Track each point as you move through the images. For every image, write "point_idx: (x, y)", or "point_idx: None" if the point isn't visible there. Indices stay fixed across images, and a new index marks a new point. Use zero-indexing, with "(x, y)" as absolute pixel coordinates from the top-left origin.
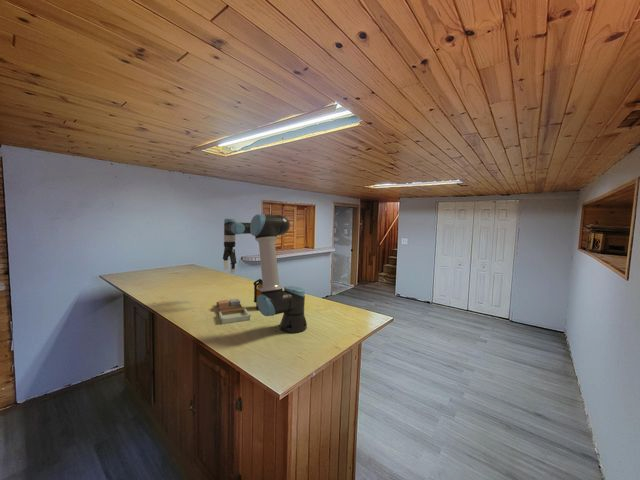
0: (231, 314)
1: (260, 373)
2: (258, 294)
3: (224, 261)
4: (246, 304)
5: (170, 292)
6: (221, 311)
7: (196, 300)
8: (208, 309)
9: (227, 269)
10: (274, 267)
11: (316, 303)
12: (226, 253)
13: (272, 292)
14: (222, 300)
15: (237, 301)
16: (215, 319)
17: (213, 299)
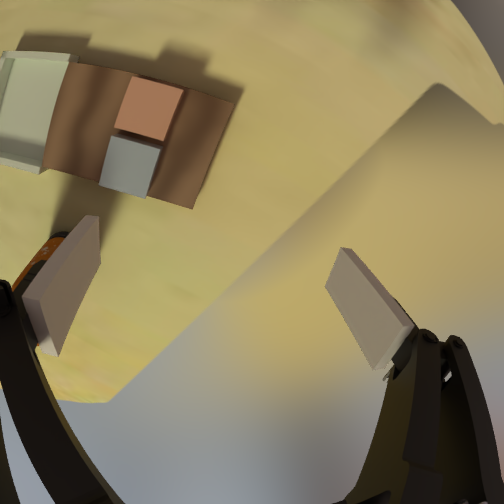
0: None
1: None
2: (28, 268)
3: (395, 321)
4: (148, 227)
5: (490, 108)
6: (76, 67)
7: (373, 88)
8: (204, 49)
9: (326, 282)
10: None
11: (60, 379)
12: (392, 493)
13: None
14: (173, 111)
15: (103, 172)
16: (63, 38)
17: (334, 147)
